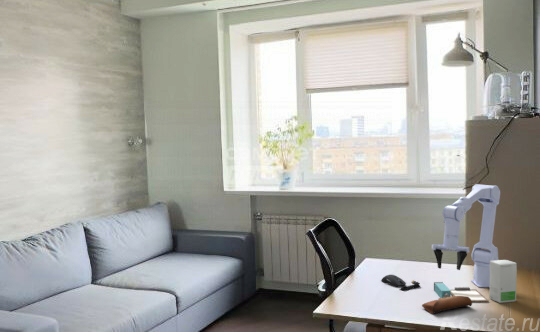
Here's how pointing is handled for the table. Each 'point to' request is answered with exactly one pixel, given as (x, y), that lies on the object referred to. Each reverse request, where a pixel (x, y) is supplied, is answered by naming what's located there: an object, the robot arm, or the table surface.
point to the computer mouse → (399, 282)
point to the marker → (441, 289)
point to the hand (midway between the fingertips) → (448, 268)
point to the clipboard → (469, 294)
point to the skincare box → (503, 281)
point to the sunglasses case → (447, 303)
